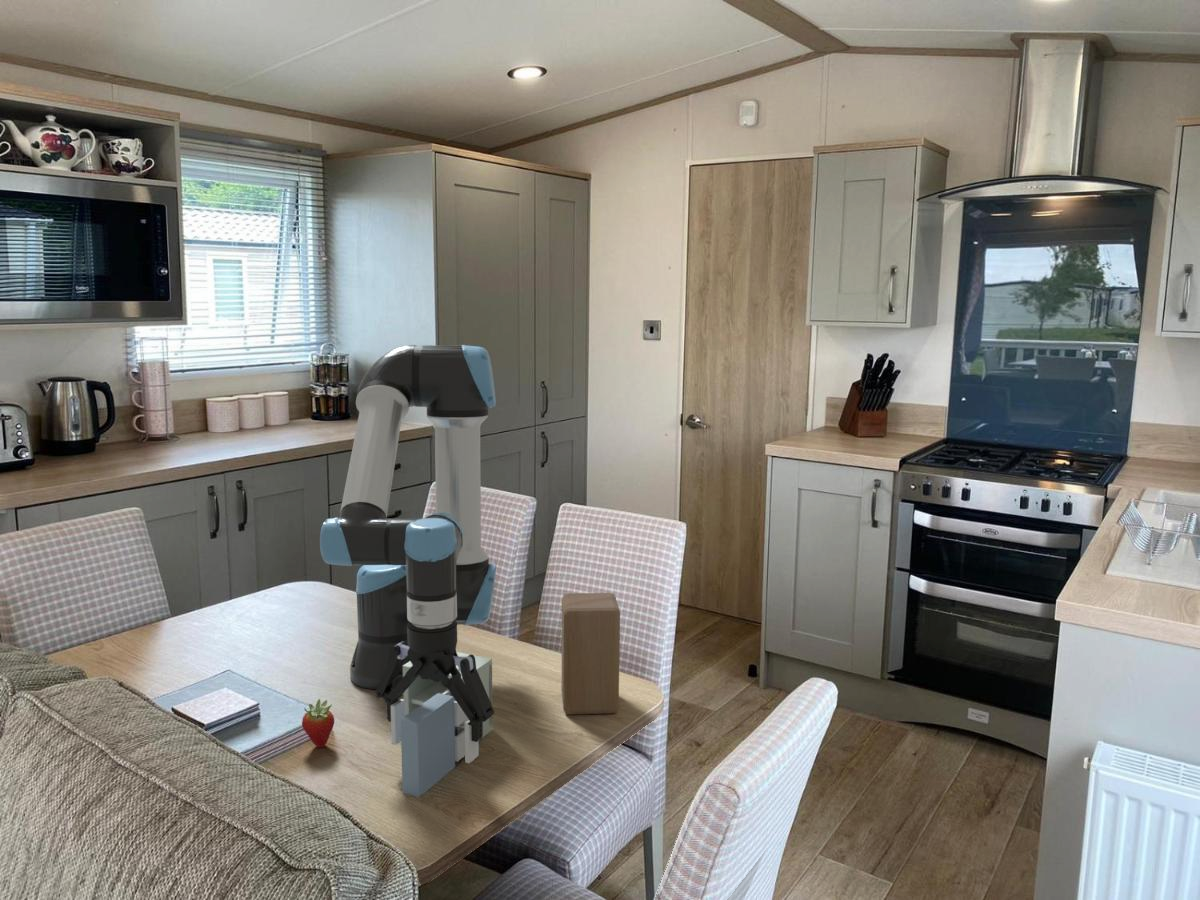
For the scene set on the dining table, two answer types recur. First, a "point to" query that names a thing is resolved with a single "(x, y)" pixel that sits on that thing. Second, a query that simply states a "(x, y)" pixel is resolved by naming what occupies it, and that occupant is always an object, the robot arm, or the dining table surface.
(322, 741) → the fruit
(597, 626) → the wooden block
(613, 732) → the dining table surface
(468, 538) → the robot arm
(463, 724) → the cabinet
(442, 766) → the door
